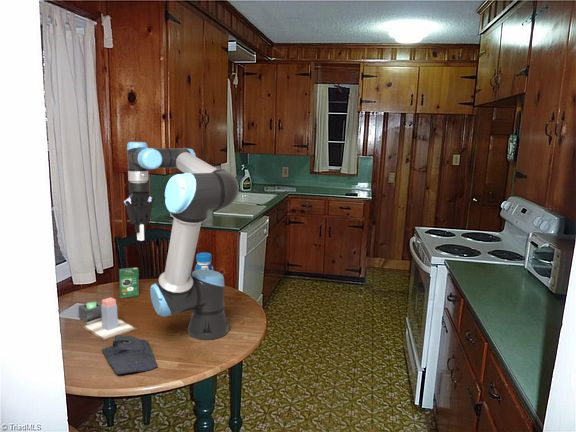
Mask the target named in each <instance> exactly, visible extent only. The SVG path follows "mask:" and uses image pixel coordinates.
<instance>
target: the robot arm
mask: <svg viewBox="0 0 576 432" xmlns="http://www.w3.org/2000/svg"><path fill="white" fill-rule="evenodd" d="M126 146H127V147H126V153H127V154H126V155H127V158H126V159H127V176H128V177H127V178H128V179H127V180H128V193H129V194H128V198H126V199H125V200H122V202H123V205H124V206H125V209H126V212H127V216H128V220H129V223H130V224H132V225H133V224H134V231H135V233H136V240H137V241H140V242H142V241H145V232H146V230H147V229H146V225H147V224H148V223H149V222H151V215H152V210H153V204H154V203H155V200H156V199H155V198H154V197H151V196H150V193H149V191H150V185H149V184H150V183H149V182H148V181H149V170H156V169H177V170H179V171H181V172H182V173H179V174H178V173H177V174H175V175H173V176H171V177H170V178H169V180H168V182H167V184H166V186H165V190H164V197H165V200H164V202H165V203H164V204H165V206H166V209H167V210H168V212H169V214H170V216H171V217H172V218H173V221H172V228H171V233H170V238H169V239H170V240H169V245H168V252H167V257H166V263H165V268H164V272H162V273H160V274H159V277H158V281H157V283H156V282H155V283H154V284H151V286H150V288H149V295H150V300H151V303H152V306H153V309H154V310H155V313H156V314H157V315H158V316H160V317H162V318H163V317H169V316H170V317H172V316H173V315H178V314H182V313H185V312H190V311H192V313H191V317H190V318H189V319H190V320H189V323H188V325H187V333H188V335H189V336H190V337H191V338H193V339H196V340H204V341H205V340H215V339H220V338H222V337H224V336H225V335H227V334H228V332H229V330H230V329H229V328H230V327H229V326H230V324H229V321H228V319H227V315H226V313H225V278H224V275H223V274H222V273H221V272H219V271H216V270H214V269H213V270H195V269H194V270H193V271H192V269H193V265H194V261H195V260H194V259H195V255H196V251H197V250H196V249H197V245H198V241H199V235H200V231H201V225H202V223H204V222H205V221H207V219H208V216H209V211H212V210H213V211H214V210H222V209H225V208H228V207H230V205H232V204H233V203H234V202H236V201H235V200H236V199H237V198H238V194H239V190H240V186H239V183H238V179H237V178H236V177H235V175H233V174H232V173H231V172H230V171H228V170H226V169H223V168H216V167H215V166H213V165H211V164H209V163H207V162H206V161H204V160H202V159H201V158H198V157H197V156H196V155H197V154H196V152H195V151H194V149H192V148H187V147H183V148H181V147H178V148H177V147H176V148H172V147H171V148H167V147H166V148H164V147H163V148H162V147H161V148H160V147H159V148H158V147H154V148H153V147H149V146H148V143H147V142H145V141H129V142H127V145H126Z"/></svg>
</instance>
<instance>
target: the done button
mask: <svg viewBox="0 0 576 432" xmlns="http://www.w3.org/2000/svg"><path fill="white" fill-rule="evenodd" d="M95 301H96V300H94V301H92V300H91V301H88V302H86V303H85V304H86V307H87V308H88V309H91V308H94V307H97V306H96V302H97V301H96V302H95Z"/></svg>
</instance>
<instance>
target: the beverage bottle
mask: <svg viewBox="0 0 576 432" xmlns="http://www.w3.org/2000/svg"><path fill="white" fill-rule="evenodd" d="M195 255H196V256H195V257H196V258H195V260H196V262H197V263H196V264H195V266H194V271H195V270H213V271H214V266H213V264H212V263H211V262H212V254H211V253H209V252H198V253H196V254H195Z"/></svg>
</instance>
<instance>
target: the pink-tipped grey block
mask: <svg viewBox="0 0 576 432" xmlns="http://www.w3.org/2000/svg"><path fill="white" fill-rule="evenodd" d="M101 304H102V305H101V311H102V328H104V329H106V330H107V331H109V330H112V329H115V328H118V318H119V317H118V304H117V299H115V298H114V297H111V296H110V297H107V298H104V299H101Z"/></svg>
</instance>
